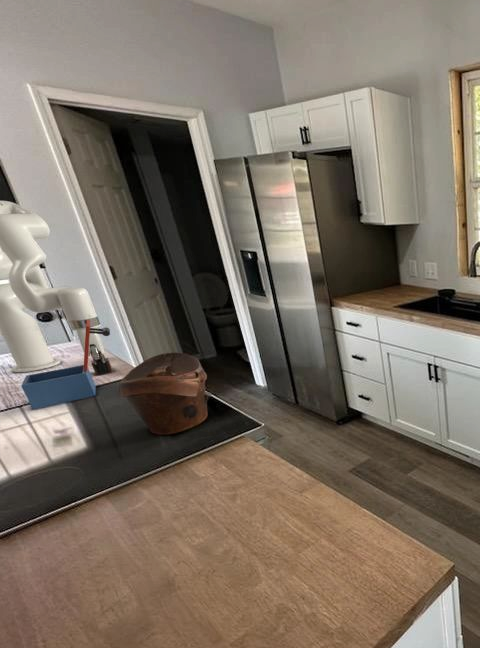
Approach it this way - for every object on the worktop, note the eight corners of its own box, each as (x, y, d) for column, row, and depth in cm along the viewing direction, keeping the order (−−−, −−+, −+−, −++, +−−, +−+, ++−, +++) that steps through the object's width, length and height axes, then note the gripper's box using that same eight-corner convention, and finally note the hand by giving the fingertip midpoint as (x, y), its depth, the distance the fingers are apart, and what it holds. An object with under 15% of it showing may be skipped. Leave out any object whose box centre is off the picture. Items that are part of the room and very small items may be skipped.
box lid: (85, 326, 125) (110, 328, 129) (87, 320, 133) (110, 322, 137) (83, 371, 127) (107, 372, 131) (84, 362, 135) (107, 363, 139)
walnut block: (96, 372, 151) (91, 360, 150) (112, 368, 154) (108, 357, 153) (96, 375, 148) (91, 363, 147) (112, 371, 151) (108, 360, 149)
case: (157, 449, 99) (131, 381, 93) (123, 430, 109) (97, 367, 102) (234, 418, 114) (216, 357, 107) (198, 403, 123) (179, 347, 117)
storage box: (32, 409, 122) (21, 385, 119) (37, 398, 130) (26, 375, 127) (95, 395, 131) (85, 373, 128) (95, 385, 139) (86, 364, 136)
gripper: (71, 321, 148) (90, 368, 155) (68, 330, 136) (89, 380, 143) (99, 317, 153) (117, 363, 159) (99, 325, 141) (118, 374, 148)
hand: (104, 371), depth 151 cm, fingers closed on walnut block, 4 cm apart
